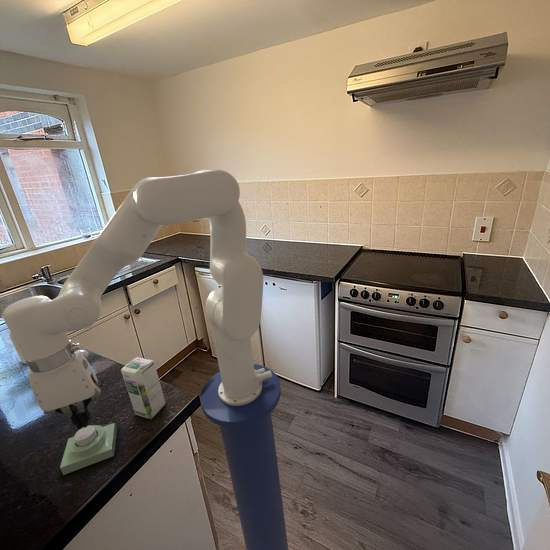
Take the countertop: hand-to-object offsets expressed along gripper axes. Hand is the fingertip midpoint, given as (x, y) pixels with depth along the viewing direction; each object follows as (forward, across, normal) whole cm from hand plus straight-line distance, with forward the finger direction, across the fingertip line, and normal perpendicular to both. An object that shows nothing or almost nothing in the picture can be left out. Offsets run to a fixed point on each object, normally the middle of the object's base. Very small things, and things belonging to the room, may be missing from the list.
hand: (84, 423), depth 66 cm
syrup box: (+8, -12, -7) cm, 16 cm away
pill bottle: (+8, +27, -54) cm, 61 cm away
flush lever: (0, +9, -32) cm, 34 cm away
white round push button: (+4, +1, 0) cm, 4 cm away
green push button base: (+8, +1, 0) cm, 8 cm away
